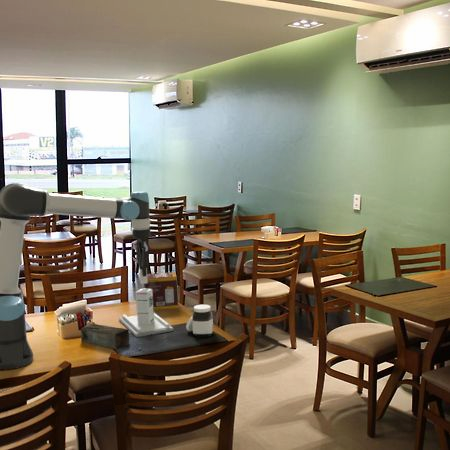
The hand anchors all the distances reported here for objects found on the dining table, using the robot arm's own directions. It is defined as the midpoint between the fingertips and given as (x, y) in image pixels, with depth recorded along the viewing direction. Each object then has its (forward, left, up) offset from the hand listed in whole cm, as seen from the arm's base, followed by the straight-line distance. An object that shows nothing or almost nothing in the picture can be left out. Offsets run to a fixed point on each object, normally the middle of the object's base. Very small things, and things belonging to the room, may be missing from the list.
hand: (143, 283), depth 241 cm
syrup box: (0, 0, -18) cm, 18 cm away
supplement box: (+26, -16, -19) cm, 36 cm away
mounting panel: (+1, 0, -19) cm, 19 cm away
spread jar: (-21, -16, -19) cm, 33 cm away
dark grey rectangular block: (-12, +21, -19) cm, 31 cm away
